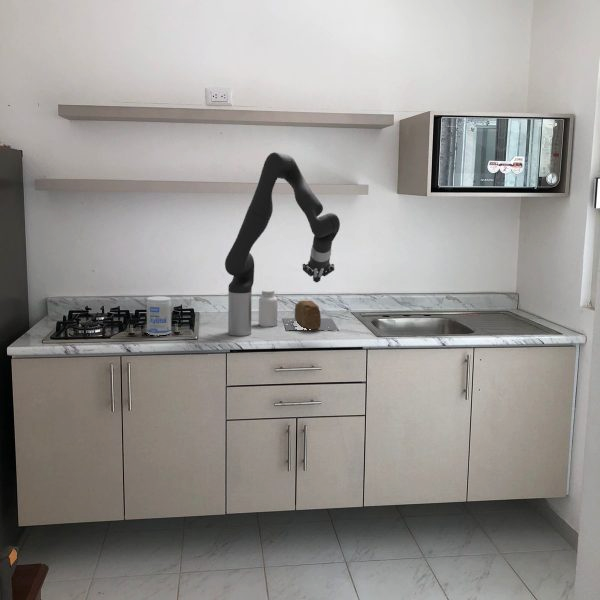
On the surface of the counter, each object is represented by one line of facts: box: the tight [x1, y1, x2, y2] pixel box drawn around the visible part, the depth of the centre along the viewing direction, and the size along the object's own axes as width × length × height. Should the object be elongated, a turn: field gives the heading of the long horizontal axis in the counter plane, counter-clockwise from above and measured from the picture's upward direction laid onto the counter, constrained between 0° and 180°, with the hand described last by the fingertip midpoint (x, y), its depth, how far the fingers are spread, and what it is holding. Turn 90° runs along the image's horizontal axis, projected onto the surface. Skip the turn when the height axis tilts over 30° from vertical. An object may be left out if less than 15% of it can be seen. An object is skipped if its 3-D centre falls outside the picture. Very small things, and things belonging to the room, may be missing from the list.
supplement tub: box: [146, 295, 172, 336], centre depth 295 cm, size 10×10×15 cm
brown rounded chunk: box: [294, 300, 322, 329], centre depth 314 cm, size 11×8×20 cm
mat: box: [282, 317, 340, 332], centre depth 319 cm, size 22×24×1 cm
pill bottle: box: [258, 289, 278, 328], centre depth 316 cm, size 8×8×15 cm
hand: (316, 280), depth 295 cm, fingers closed
